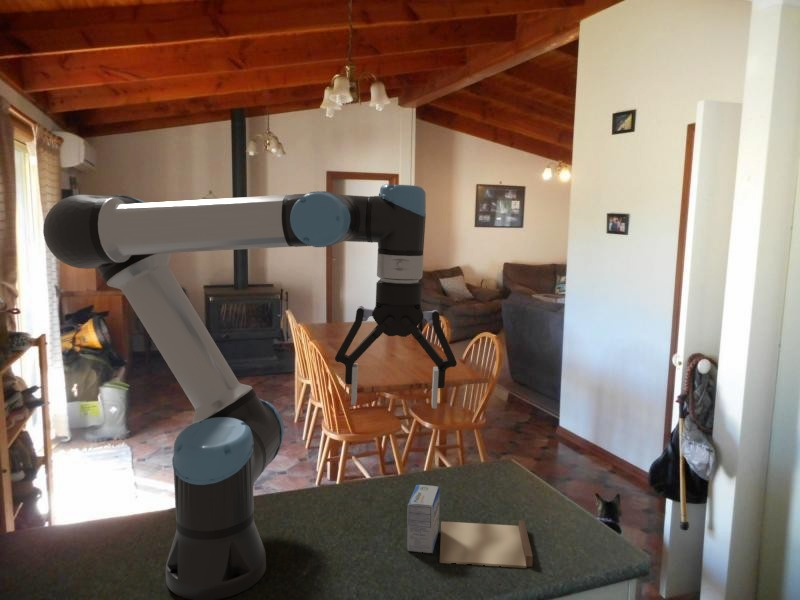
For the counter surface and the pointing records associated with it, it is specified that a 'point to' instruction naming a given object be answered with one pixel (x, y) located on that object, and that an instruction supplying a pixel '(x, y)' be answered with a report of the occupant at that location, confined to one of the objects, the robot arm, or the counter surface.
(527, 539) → the stop rail
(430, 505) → the medicine box
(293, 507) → the counter surface
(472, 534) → the light wooden board
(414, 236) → the robot arm
